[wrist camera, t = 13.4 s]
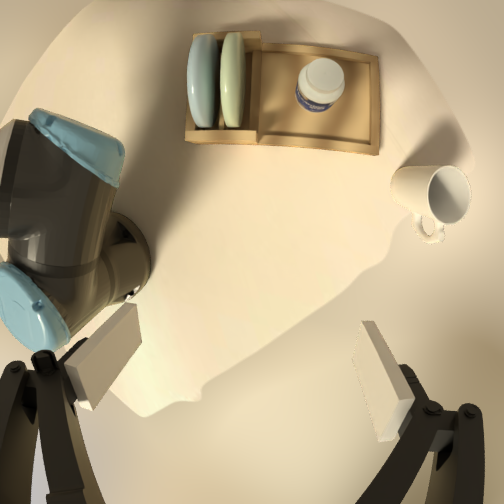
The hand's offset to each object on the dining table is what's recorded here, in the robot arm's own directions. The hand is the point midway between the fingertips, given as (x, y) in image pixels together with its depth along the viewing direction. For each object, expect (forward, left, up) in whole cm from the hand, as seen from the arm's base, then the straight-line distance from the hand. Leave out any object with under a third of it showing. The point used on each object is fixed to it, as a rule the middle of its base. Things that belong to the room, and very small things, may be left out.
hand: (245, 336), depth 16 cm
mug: (+21, +7, -27) cm, 35 cm away
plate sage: (-4, +20, -27) cm, 34 cm away
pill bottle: (+6, +20, -26) cm, 33 cm away
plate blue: (-7, +20, -27) cm, 34 cm away
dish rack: (+3, +20, -27) cm, 33 cm away
